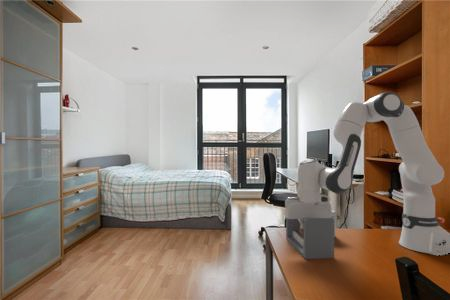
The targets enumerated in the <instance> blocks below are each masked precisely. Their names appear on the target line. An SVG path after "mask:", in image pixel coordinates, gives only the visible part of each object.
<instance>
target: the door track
mask: <svg viewBox="0 0 450 300" xmlns="http://www.w3.org/2000/svg"><path fill="white" fill-rule="evenodd" d="M285 219H286V220H285V228H286V229H285V234H286V235H285V239H286V240H287V241H288V243H290V245H292V247H293V248H294V249H295V250H296V251H297V252H298V253H299V254H300V255H301V256H302V257H303V259H304V258H305V259H304V260H314V259H315V260H316V259H319V260H320V259H334V258H335V237H334V219H333V218H314V219H304V239H303V238H302V237H301V236H300V235H299V220H298V219H288V218H286V217H285Z"/></svg>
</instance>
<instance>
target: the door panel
mask: <svg viewBox="0 0 450 300" xmlns="http://www.w3.org/2000/svg"><path fill="white" fill-rule="evenodd" d="M302 223H303V224H304V219H303V221H302ZM299 235H300V236H301V237H302V238H303V239H304V229H302V228H301V224H300V222H299Z"/></svg>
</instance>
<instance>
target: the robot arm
mask: <svg viewBox="0 0 450 300" xmlns="http://www.w3.org/2000/svg"><path fill="white" fill-rule="evenodd" d="M381 121H384V123H385V124H386V125H387V127H388V132H389V134H390V136H391V139H392V142H393V145H394V148H395V150H396V152H397V153H398V155H399V156H400V158H401V160H402V162H400V164H399V166H398V172H399V174H400V175H399V176H400V183H401V188H402V194H403V208H402V209H403V212H402V214H401V221H402V227H401V233H400V237H399V241H398V244H399V245H400V246H401V247H404V248H406V249H408V250H410V251H416V252H418V253H419V252H420V253H424V254H430V255H433V256H436V257H437V256H439V255H440V256H445V254H446V255H449V254H448V253H450V232H448V231H447V230H446V229H444V227H442V226H440V224H439V223H441V224H443V223H445V221H446V219H445V218H443V217H439V216H438V217H437V216H436V198H435V196H434V192H433V189H432V186H433V185H434V186H435V185H437V184H439V183H441V182H442V181H443V179H444V178H445V170H444V168H443V167H442V165H440V163H438V161H437V158H436V157H435V155H434V154H433V152H432V151H431V149H430V147H429V146H428V143H427V142H426V139H425V137H424V133H423V131H422V129H421V126H420V123H419V121H418V119H417V116H416V115H415V113H414V111H413V110H412V109H411V107H410V106H408V105H406V104H404V102H403V100H402V98H401V97H400V96H399V95H398V94H397V93H395V92H393V91H385V92H382V93H378V94H377V95H374V96H373V97H371V98H369V99H367V100H366V101H365V102H357V101H353V102H349V103H348V104H347V105H346V106H345V107H344V109H343V110H342V111H341V114H340V116H339V117H338V120H337V122H336V124H335V125H334V129H333V137H334V139H335V140H336V141H337V142H338V143H339V144H340V145H341V147H342V151H341V155H340V158H339V161H338V164H337V166H336V167H335V168H332V167H328V166H326V165H323V164H321V163H320V162H319V161H318V160H316V159H307V160H303V161H301V162H299V164H298V167H297V182H298V187H297V196H293V197H290V196H289V197H287V198H286V199H285V200H284V207H285V209H284V217H285V219H286V218H288V219H298V220H299V222H300V224H301V228H302V229H304V224H303V223H302V221H303V219H314V218H330V217H331V216H332V211H333V209H332V204H331V203H330V201H331V198H330V197H329V196H328V195H325V194H323V193H320V191H319V190H320V189H324V190H327V191H330V192H331V193H334V194H336V195H343V194H346V193H347V192H348V191H350V189H351V188H352V186H353V181H354V171H355V167H356V164H357V161H358V158H359V154H360V151H361V145H362V140H361V135H362V132H363V131H364V127H365V126H366V124H375V123H377V122H381Z"/></svg>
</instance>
